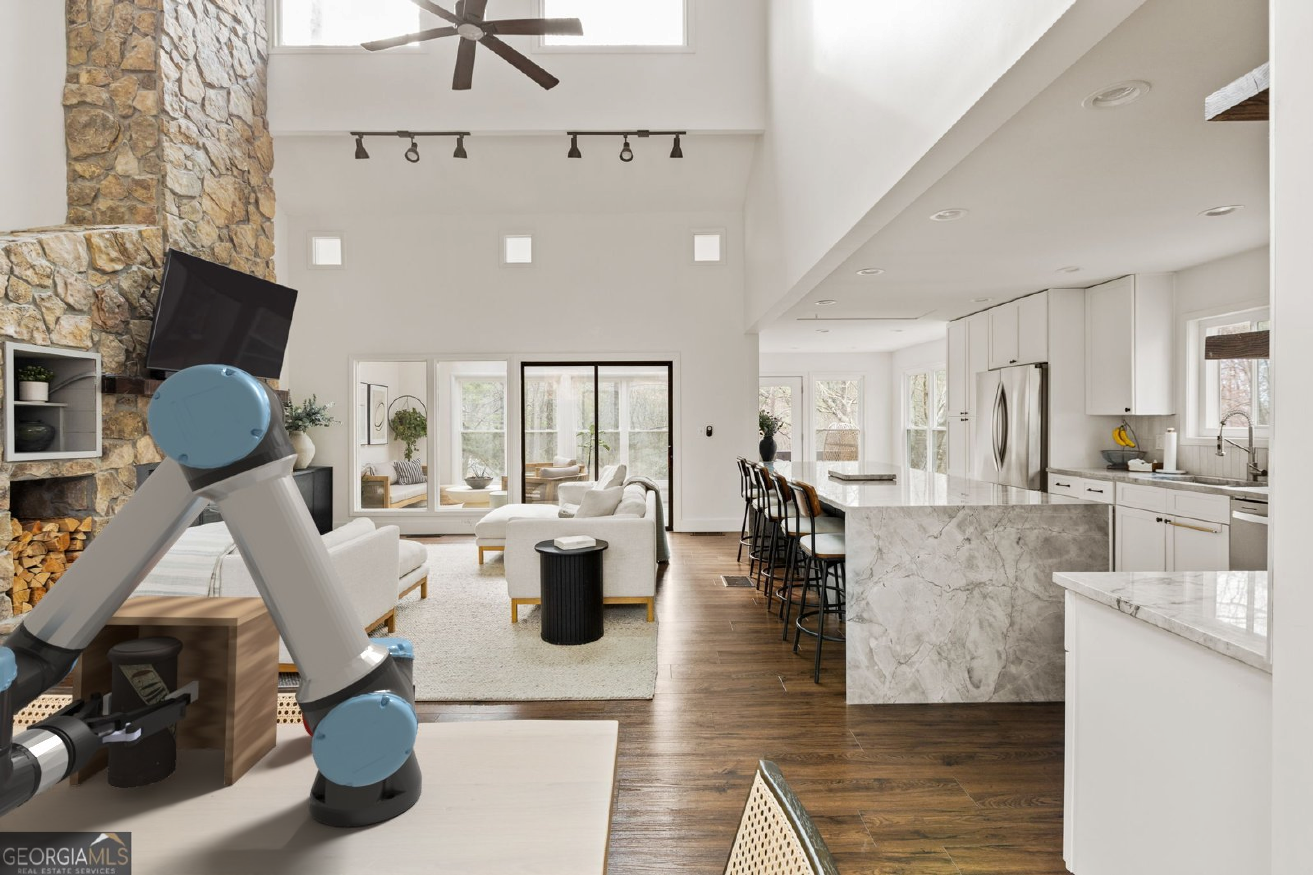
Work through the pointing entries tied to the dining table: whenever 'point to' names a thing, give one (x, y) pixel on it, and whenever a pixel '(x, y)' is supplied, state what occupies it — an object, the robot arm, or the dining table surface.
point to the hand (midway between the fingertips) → (166, 689)
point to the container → (136, 683)
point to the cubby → (200, 673)
